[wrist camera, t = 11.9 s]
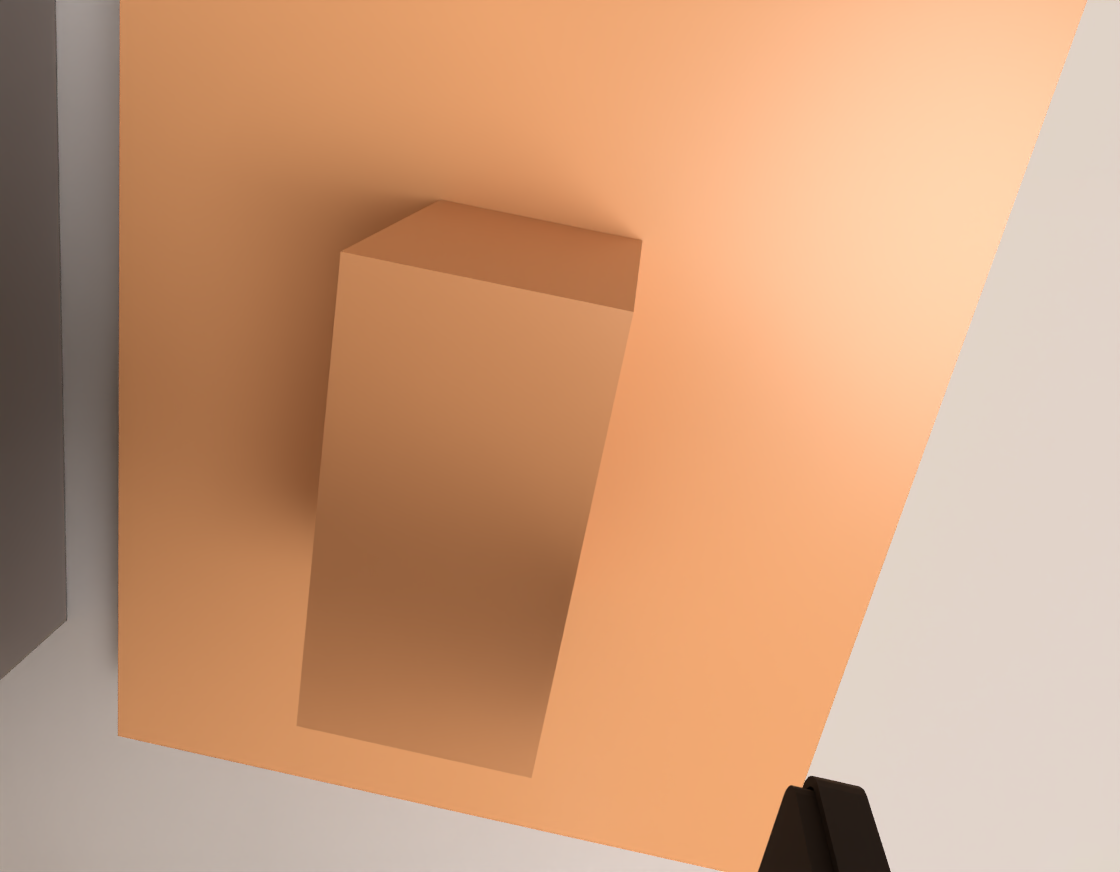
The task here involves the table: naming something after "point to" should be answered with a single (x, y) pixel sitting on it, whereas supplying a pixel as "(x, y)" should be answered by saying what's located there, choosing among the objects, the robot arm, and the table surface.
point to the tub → (30, 336)
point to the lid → (541, 380)
